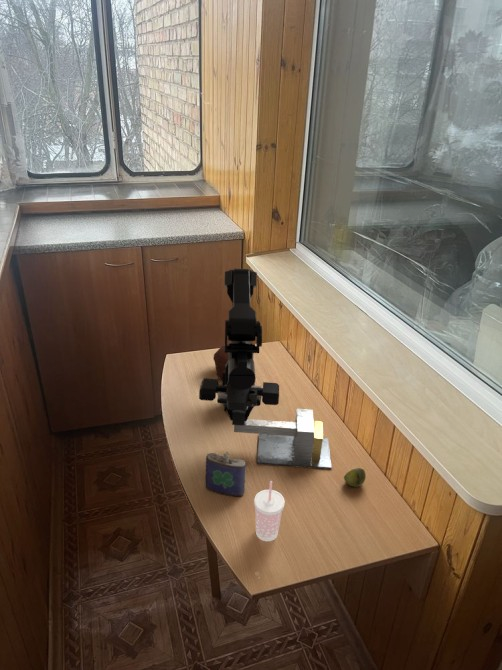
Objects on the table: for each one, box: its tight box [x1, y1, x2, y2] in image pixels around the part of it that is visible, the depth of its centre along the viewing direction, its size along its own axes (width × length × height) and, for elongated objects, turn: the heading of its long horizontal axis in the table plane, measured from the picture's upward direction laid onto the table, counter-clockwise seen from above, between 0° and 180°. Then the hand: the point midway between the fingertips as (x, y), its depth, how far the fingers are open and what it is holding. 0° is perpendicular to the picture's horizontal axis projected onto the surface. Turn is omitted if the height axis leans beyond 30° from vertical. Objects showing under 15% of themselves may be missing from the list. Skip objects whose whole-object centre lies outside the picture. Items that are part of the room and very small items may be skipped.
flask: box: [204, 452, 247, 498], centre depth 114 cm, size 9×3×11 cm, turn 74°
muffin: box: [213, 343, 230, 381], centre depth 158 cm, size 12×11×10 cm
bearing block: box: [256, 408, 332, 470], centre depth 127 cm, size 18×11×10 cm, turn 87°
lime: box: [343, 467, 367, 488], centre depth 119 cm, size 4×5×5 cm
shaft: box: [231, 410, 297, 436], centre depth 125 cm, size 18×3×6 cm, turn 87°
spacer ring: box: [312, 420, 324, 461], centre depth 127 cm, size 2×7×7 cm, turn 173°
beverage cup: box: [253, 480, 286, 542], centre depth 103 cm, size 6×6×14 cm
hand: (238, 420), depth 126 cm, fingers closed on shaft, 3 cm apart
